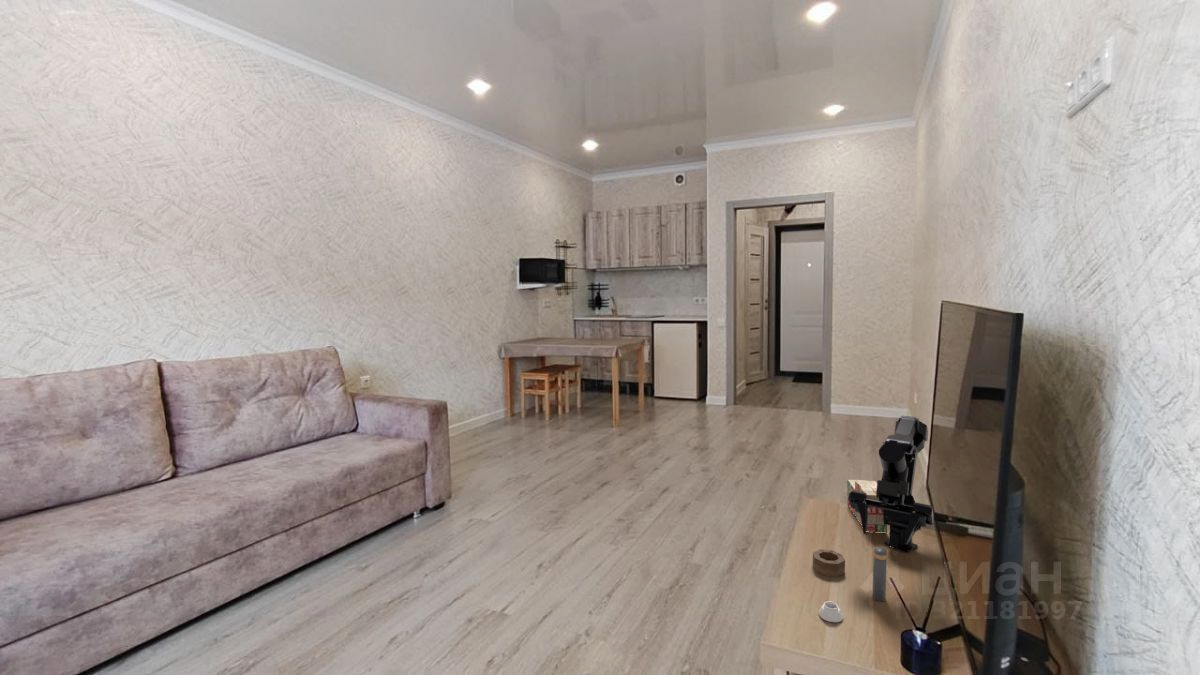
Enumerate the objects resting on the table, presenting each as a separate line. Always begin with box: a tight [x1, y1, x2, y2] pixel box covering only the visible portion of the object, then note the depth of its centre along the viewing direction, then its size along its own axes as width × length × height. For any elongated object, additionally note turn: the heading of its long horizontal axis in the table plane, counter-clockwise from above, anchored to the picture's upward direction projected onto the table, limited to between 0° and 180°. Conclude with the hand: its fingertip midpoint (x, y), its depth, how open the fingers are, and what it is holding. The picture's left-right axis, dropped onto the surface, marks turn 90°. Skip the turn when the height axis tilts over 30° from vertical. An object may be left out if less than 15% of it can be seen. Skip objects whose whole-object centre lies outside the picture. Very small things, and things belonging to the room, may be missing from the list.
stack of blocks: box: [846, 479, 888, 534], centre depth 173 cm, size 21×6×12 cm, turn 169°
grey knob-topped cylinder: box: [872, 546, 888, 602], centre depth 129 cm, size 3×3×12 cm
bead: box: [812, 548, 846, 578], centre depth 143 cm, size 7×7×4 cm
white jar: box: [818, 600, 844, 623], centre depth 122 cm, size 5×3×5 cm
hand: (884, 538), depth 133 cm, fingers open, 9 cm apart
